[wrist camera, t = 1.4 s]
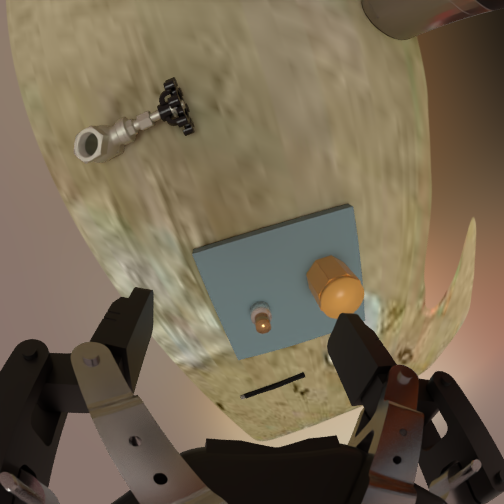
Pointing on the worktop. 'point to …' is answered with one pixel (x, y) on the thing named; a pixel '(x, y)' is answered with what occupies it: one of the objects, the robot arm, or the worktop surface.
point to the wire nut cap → (334, 287)
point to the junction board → (277, 278)
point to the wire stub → (261, 316)
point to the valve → (132, 127)
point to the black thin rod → (273, 386)
